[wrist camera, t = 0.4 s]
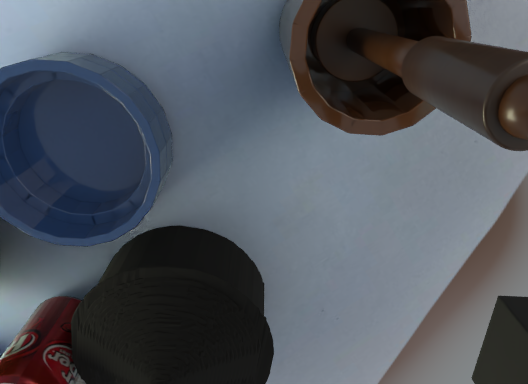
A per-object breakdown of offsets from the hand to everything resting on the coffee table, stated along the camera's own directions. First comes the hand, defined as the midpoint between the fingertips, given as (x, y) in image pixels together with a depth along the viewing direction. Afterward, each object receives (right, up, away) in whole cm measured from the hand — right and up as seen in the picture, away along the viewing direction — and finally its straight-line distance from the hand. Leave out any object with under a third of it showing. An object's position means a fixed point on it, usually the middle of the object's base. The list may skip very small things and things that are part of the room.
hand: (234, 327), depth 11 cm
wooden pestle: (+6, +13, +17) cm, 23 cm away
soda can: (-21, -11, +38) cm, 44 cm away
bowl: (-15, +8, +29) cm, 34 cm away
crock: (+6, +17, +25) cm, 31 cm away
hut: (-7, -8, +36) cm, 38 cm away
